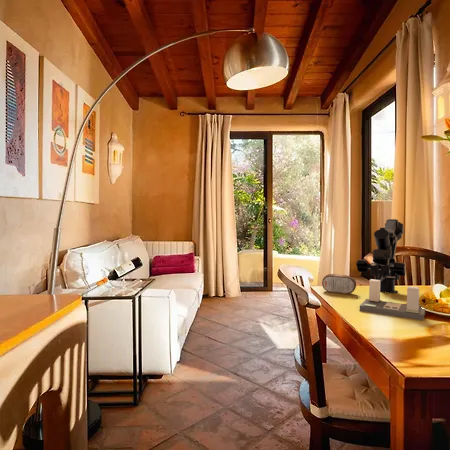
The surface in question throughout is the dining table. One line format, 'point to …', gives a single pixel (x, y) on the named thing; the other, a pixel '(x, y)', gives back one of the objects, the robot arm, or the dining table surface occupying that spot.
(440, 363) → the dining table surface
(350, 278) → the tin
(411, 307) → the tab grey
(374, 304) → the switch bank
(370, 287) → the tab offwhite
